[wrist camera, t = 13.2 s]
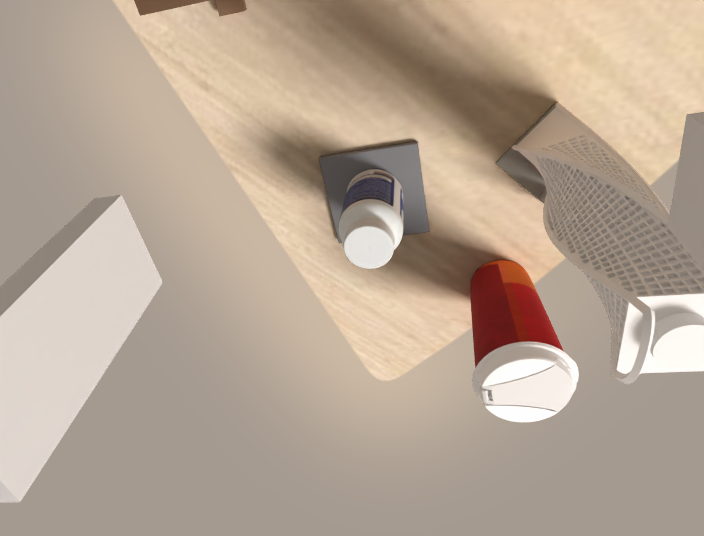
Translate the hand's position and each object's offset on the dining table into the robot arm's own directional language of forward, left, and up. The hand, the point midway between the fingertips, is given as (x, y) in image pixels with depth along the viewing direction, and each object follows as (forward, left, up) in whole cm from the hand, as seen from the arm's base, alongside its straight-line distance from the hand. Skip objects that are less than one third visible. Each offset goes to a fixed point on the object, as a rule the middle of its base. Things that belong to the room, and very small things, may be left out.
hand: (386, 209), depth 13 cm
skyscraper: (+13, +11, -35) cm, 39 cm away
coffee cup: (+27, +6, -34) cm, 44 cm away
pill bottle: (+15, -5, -34) cm, 37 cm away
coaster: (+15, -5, -34) cm, 38 cm away
